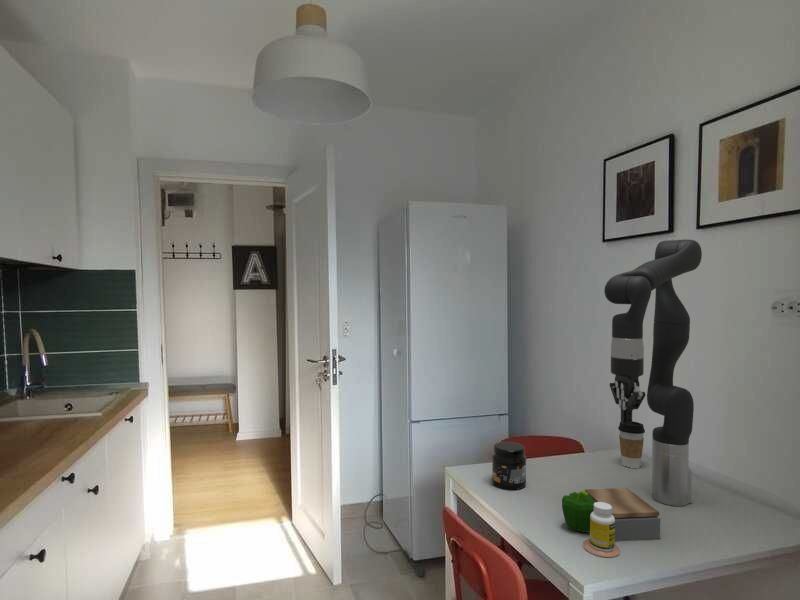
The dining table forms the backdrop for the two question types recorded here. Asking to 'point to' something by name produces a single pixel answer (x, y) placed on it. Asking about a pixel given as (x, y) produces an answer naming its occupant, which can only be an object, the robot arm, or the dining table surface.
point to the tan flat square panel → (623, 502)
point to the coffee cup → (631, 444)
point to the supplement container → (509, 465)
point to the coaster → (600, 553)
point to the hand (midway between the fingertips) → (626, 424)
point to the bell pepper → (578, 510)
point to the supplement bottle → (602, 527)
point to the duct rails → (637, 528)
